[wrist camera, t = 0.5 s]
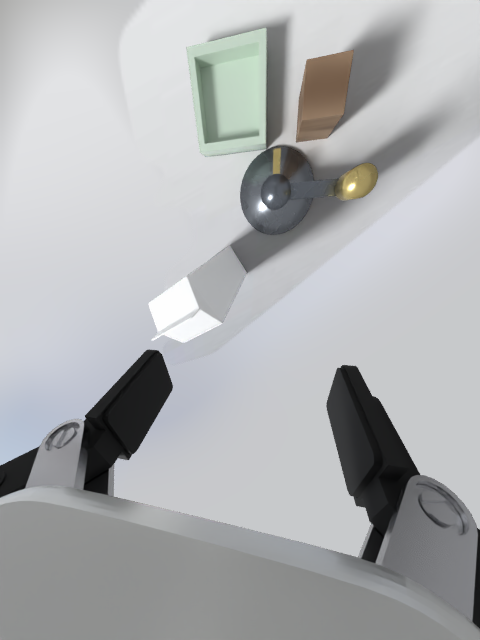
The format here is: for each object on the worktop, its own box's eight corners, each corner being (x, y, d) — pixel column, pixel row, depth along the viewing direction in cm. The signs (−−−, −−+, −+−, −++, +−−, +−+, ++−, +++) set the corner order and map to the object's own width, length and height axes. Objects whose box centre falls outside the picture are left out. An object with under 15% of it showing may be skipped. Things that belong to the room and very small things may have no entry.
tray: (194, 62, 23) (186, 47, 21) (267, 45, 21) (266, 27, 19) (205, 157, 27) (199, 152, 25) (266, 149, 26) (265, 143, 24)
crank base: (238, 152, 26) (235, 147, 24) (318, 142, 24) (323, 134, 22) (242, 235, 32) (240, 237, 30) (308, 232, 30) (311, 234, 28)
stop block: (298, 99, 23) (306, 59, 17) (333, 93, 22) (353, 49, 16) (296, 142, 25) (301, 120, 19) (327, 138, 24) (343, 114, 18)
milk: (247, 272, 35) (216, 342, 16) (222, 287, 38) (171, 363, 19) (229, 244, 33) (170, 287, 14) (204, 262, 35) (126, 318, 17)
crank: (261, 210, 27) (258, 210, 22) (261, 177, 25) (257, 169, 20) (353, 204, 25) (371, 202, 20) (361, 166, 23) (383, 154, 18)
